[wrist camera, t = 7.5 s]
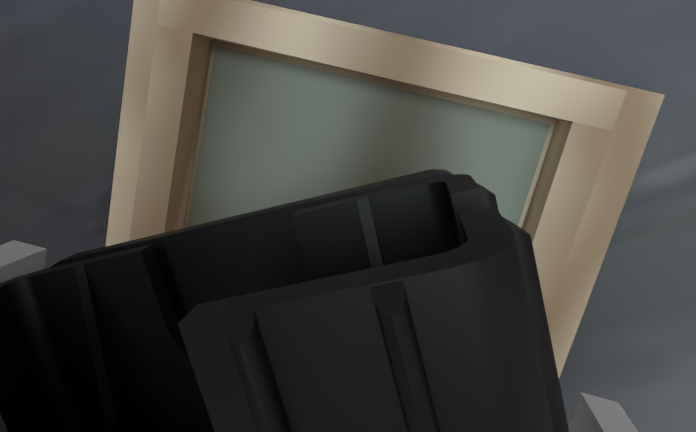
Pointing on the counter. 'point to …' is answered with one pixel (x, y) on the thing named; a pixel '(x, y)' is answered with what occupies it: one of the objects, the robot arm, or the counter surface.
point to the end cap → (293, 323)
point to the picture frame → (367, 131)
